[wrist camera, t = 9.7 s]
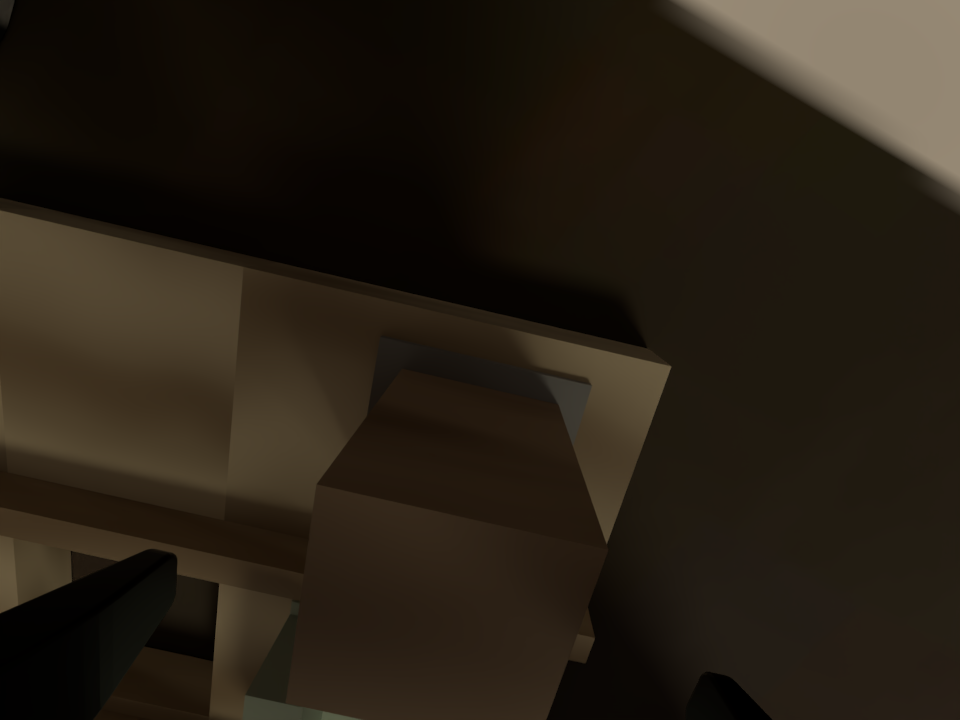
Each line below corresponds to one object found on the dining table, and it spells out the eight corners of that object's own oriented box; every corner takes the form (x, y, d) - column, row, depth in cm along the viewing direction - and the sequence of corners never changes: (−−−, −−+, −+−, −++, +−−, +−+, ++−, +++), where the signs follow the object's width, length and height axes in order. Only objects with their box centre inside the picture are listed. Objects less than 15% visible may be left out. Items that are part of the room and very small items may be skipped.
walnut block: (519, 537, 14) (532, 756, 8) (376, 504, 14) (285, 703, 8) (558, 404, 12) (609, 550, 7) (401, 368, 12) (316, 484, 7)
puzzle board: (506, 759, 19) (507, 866, 16) (28, 657, 19) (-71, 745, 16) (648, 348, 14) (692, 382, 11) (-6, 196, 14) (-164, 183, 10)
